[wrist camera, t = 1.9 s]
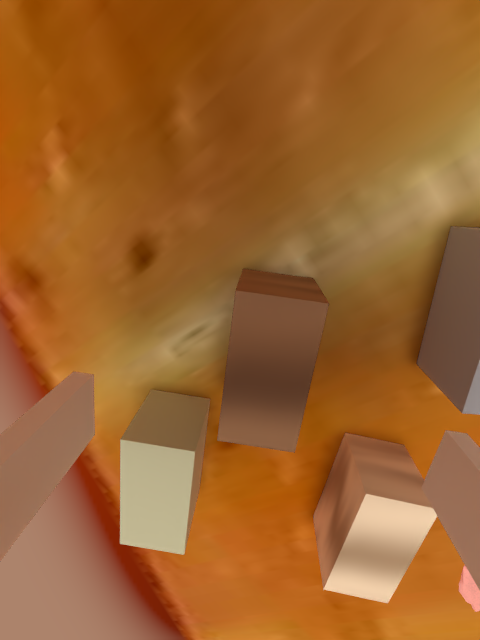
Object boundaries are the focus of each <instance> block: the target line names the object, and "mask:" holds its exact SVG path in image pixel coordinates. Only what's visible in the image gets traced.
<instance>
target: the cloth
mask: <svg viewBox="0 0 480 640" xmlns="http://www.w3.org/2000/svg"><path fill="white" fill-rule="evenodd" d="M459 592H460V593H461V594H462V596H463V597H464V599H465V600H466V602H467V603H470V604H471V605H472V608H473V609H474V610H475V612H476V611H480V590H479V589H478V587H477V585H476V583H475V582H474V580H473V578H472V576H471V574H470V573H469V571H468V569H467V567H466V566H464V567H463V571H462V574H461V580H460V583H459Z"/></svg>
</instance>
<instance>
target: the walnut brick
mask: <svg viewBox="0 0 480 640" xmlns="http://www.w3.org/2000/svg"><path fill="white" fill-rule="evenodd" d="M328 306H329V303H328V301H327V300H326V298H325V296H324V295H323V293H322V291H321V290H320V288H319V287H318V285H317V283H316V282H315V280H314V279H313V278H306V277H299V276H292V275H285V274H278V273H270V272H263V271H256V270H249V269H243V271H242V274H241V277H240V279H239V282H238V285H237V288H236V291H235V300H234V308H233V316H232V324H231V332H230V340H229V348H228V357H227V365H226V373H225V381H224V389H223V397H222V405H221V413H220V422H219V430H218V438H217V441H224V442H230V443H237V444H243V445H250V446H256V447H262V448H269V449H275V450H282V451H288V452H295V449H296V445H297V441H298V436H299V432H300V428H301V423H302V419H303V415H304V410H305V406H306V401H307V397H308V393H309V388H310V384H311V380H312V375H313V371H314V367H315V362H316V358H317V354H318V349H319V345H320V341H321V336H322V332H323V328H324V323H325V319H326V315H327V310H328Z"/></svg>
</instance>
